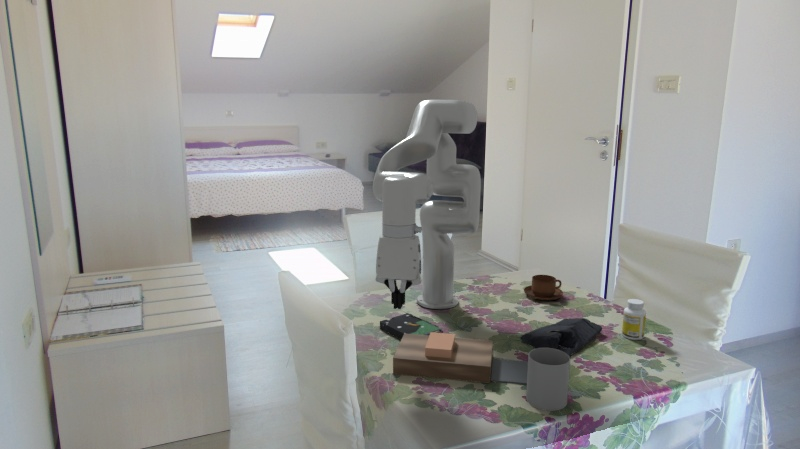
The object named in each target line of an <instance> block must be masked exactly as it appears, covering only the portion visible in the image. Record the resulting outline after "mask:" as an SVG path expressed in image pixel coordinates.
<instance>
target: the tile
mask: <svg viewBox="0 0 800 449" xmlns="http://www.w3.org/2000/svg"><path fill="white" fill-rule="evenodd" d="M455 338H456V333H447V332H446V333H445V332H443V333H435V332H431V333H430V335H429V338H428V341H427V344H426V347H425V356H432V357H444V358H451V356H452V352H453V348H454V344H455Z"/></svg>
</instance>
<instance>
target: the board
mask: <svg viewBox="0 0 800 449" xmlns="http://www.w3.org/2000/svg"><path fill="white" fill-rule="evenodd" d="M428 338H429V335H417V334H405V333H404V335H403V337H402V339H400V342H399V344H398V346H397V348H396V351H395V353H394V355H393V358H392V374H393V375H397V376H398V375H399V376H410V377H419V378H420V377H421V378H429V379H431V378H433V379H442V380H452V381H453V380H454V381H463V382H474V383H484V384H486V383H487V384H491V374H492V363H493V351H494V350H493V349H494V341H493V340H491V339H490V340H488V339H477V338H464V337H455V344H454V348H453V352H452V356H451V358H444V357H432V356H425V347H426V344H427V341H428Z"/></svg>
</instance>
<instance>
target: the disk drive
mask: <svg viewBox="0 0 800 449" xmlns="http://www.w3.org/2000/svg"><path fill="white" fill-rule="evenodd" d="M379 330H381V331H383V332H385V333H387V334H389V335H391V336H393V337H395V338H397V339H399V340H401V339H402V337H403V335H404V333H405V334H417V335H430V333H431V332H435V333H444V330H443V329H442V328H441V327H439V326H438V325H436V324H433V323H431V322H429V321H427V320H425V319H423V318H420V317H418V316H416V315H414V314H411V313H409V312H407V313H404V314H401V315H397V316H393V317H391V318H390V319H383V320H380V321H379Z"/></svg>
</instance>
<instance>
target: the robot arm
mask: <svg viewBox="0 0 800 449" xmlns="http://www.w3.org/2000/svg"><path fill="white" fill-rule="evenodd" d="M477 123H478V111H477V109H476V106H475V104H474V103H472V102H469V101H466V100H461V99H426V100H422V101H420V102H419V103H418V104H417V105H416V107H415V109H414V111H413V114H412V118H411V121H410V124H409V128H408V130H407V133H406V136H405V139H403V140H401V141H400V142H398V143H396V144H395V145H393V146H392V147H391V148H390V149H389V150H388V151H386V152H385V153H384V154H383V156H382V157H381V158H380V160H379V161H378V165H377V167H376V170H375V174H374V177H373V182H372V194H373V196H374V198H375V199H376V200H377V201H379V202H381V203H382V206H381V207H382V208H381V210H382V211H381V212H382V214H381V215H382V220H381V221H382V222H381V224H382V226H381V227H382V230H381V232H382V234H380V235H379V239H378V245H377V250H376V251H377V252H376V261H375V276H376V277H375V282H377V283H380V284H384V285H385V286H386V287H387V288H388V290H389V291H390V294H391V297H390V298H391V301H390V302H391V304H392V305H393V309H394V310H396V309H398V310H402V307H403V305H405V304H406V291H407V290H408V289H409V288H411V287H412V286H419V285H421V286H422V288H421V294H419V295H418V296H417V298H416V303H417V304H418V305H419V306H421V307H424V308H426V309H431V310H444V309H445V310H447V309H451V308H453V307H456V306H457V305H458V304H459V298H458V297H457V296H456V295H454V273H455V272H454V271H455V269H454V268H455V266H454V265H455V245H454V243H453V241H452V239H451V238H450V236H449V234H453V235H474V234H475V233H477V231H478V229H479V224H480V212H481V211H480V210H481V192H482V184H481V183H482V182H481V181H482V178H481V173H480V170H479V168H478V167H476V166H475V165H472V164H464V163H463V164H462V163H461V164H460V163H459V164H458V163H457V145H456V142H455V141H454V139H453V138H452V137H451V135H450V134H471V133H473V132H474V131H475V129H476V126H477ZM423 161H426V173H423V172H415V171H414V172H411V171H399V170H401V169H403V168H406V167H408V166H411V165H415V164H418V163H421V162H423ZM432 196H439V197H441V196H442V197H454V198H455V197H456V198H462V200H463V201H453V200H439V199H437V200H435V199H434V200H431V197H432ZM417 205H421V207H420V210H419V222H420V226H418V225H417V222H416V210H417V209H416V208H417V207H416V206H417ZM418 233H420V234H421V237H422V248H421V241H420V237H419V235H417V234H418ZM421 249H422V250H421ZM421 251H422V252H421ZM421 274H422V276H421ZM397 281H400V286H399V287H398V284H397Z"/></svg>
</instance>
